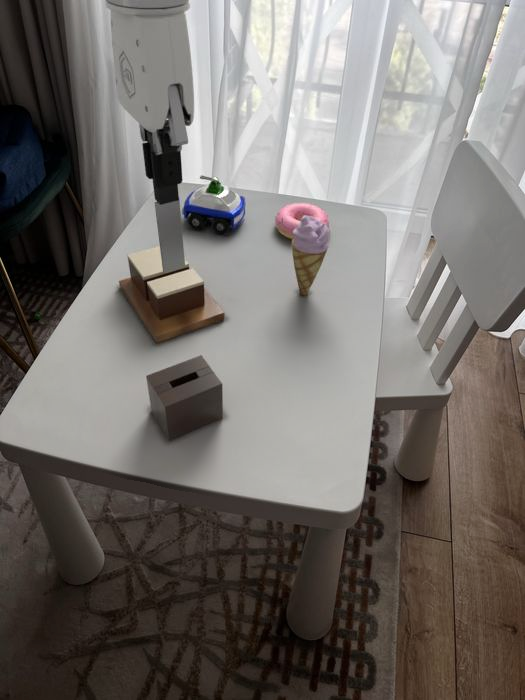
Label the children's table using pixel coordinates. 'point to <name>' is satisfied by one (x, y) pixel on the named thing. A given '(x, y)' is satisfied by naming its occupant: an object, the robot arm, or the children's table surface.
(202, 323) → the cutting board
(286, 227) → the doughnut
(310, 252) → the ice cream cone
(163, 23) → the robot arm
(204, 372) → the knife block
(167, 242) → the knife
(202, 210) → the toy car
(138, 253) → the cake
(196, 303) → the cake slice
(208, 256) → the children's table surface
